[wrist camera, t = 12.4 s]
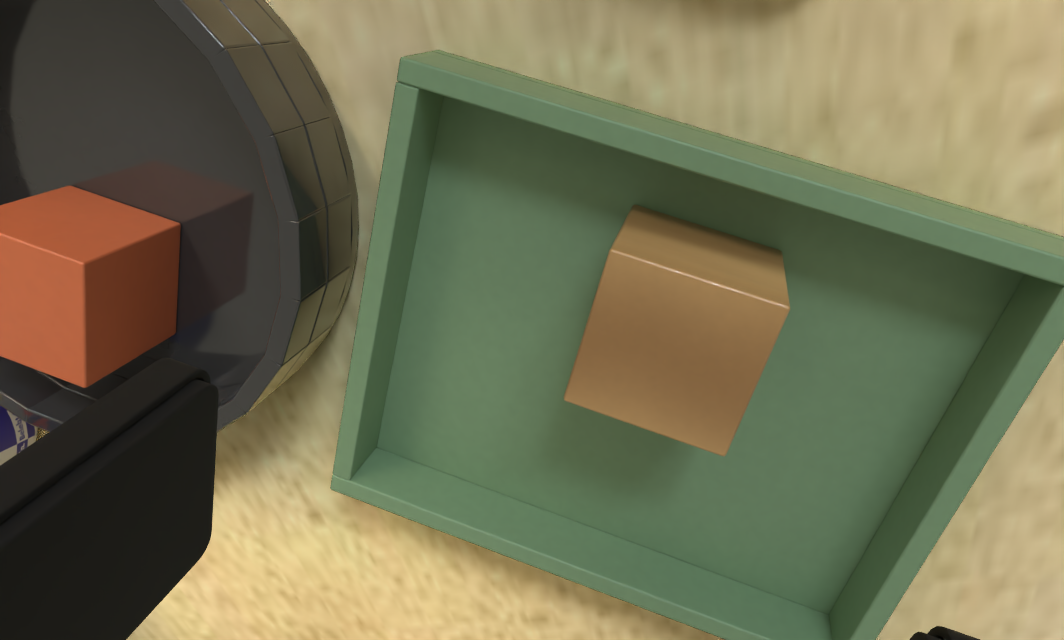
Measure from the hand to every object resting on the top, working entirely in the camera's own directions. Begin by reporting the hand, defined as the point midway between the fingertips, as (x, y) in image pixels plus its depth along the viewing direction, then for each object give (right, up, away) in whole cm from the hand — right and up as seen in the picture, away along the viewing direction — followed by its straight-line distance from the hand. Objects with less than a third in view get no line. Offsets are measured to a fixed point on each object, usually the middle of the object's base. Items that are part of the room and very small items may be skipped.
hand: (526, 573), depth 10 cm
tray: (+4, +2, +12) cm, 13 cm away
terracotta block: (-13, +5, +15) cm, 21 cm away
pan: (-12, +8, +14) cm, 20 cm away
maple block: (+4, +4, +11) cm, 12 cm away
